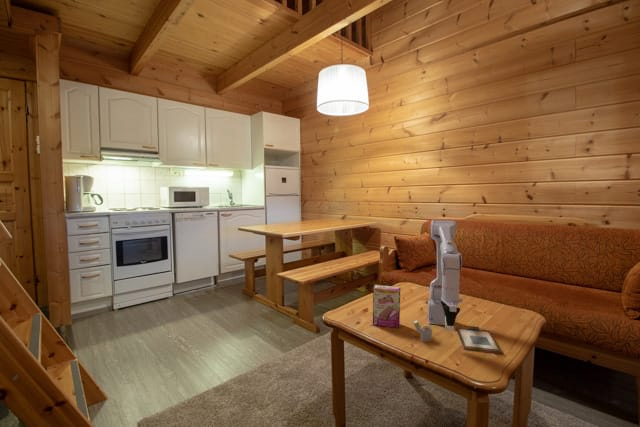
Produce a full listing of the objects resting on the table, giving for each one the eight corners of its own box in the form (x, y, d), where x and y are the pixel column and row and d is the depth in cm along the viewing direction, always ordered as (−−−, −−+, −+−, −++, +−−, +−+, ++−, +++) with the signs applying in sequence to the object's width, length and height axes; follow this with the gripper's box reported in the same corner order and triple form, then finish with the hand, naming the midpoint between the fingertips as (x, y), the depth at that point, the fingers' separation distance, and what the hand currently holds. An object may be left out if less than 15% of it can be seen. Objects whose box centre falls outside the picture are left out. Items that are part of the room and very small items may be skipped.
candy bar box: (372, 325, 126) (372, 288, 125) (373, 320, 131) (373, 284, 130) (399, 328, 123) (400, 290, 122) (399, 323, 128) (400, 286, 127)
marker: (445, 330, 107) (446, 307, 106) (444, 326, 110) (444, 304, 109) (454, 331, 106) (455, 308, 105) (453, 327, 109) (453, 305, 108)
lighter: (429, 338, 115) (430, 318, 115) (432, 340, 114) (432, 320, 113) (412, 340, 114) (412, 320, 113) (414, 342, 112) (415, 322, 112)
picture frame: (463, 349, 107) (464, 343, 107) (456, 329, 123) (456, 324, 122) (501, 353, 104) (501, 348, 104) (488, 332, 119) (488, 327, 119)
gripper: (466, 294, 99) (465, 334, 100) (459, 281, 113) (458, 316, 114) (444, 292, 101) (443, 331, 102) (439, 280, 114) (438, 314, 116)
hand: (449, 323), depth 108 cm, fingers closed on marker, 3 cm apart
